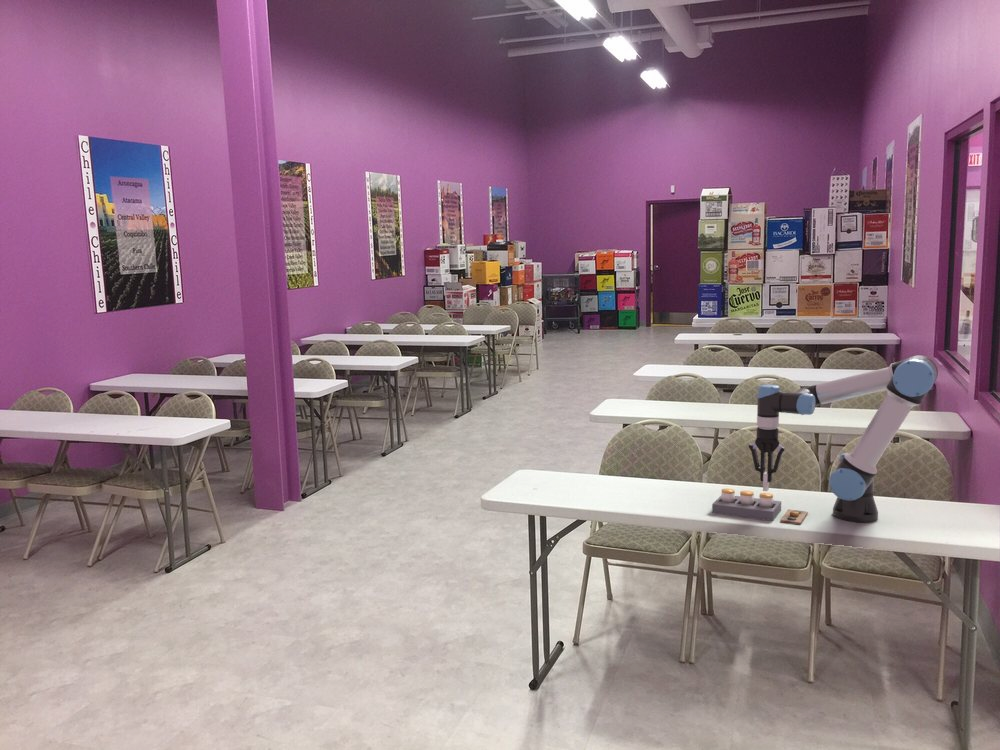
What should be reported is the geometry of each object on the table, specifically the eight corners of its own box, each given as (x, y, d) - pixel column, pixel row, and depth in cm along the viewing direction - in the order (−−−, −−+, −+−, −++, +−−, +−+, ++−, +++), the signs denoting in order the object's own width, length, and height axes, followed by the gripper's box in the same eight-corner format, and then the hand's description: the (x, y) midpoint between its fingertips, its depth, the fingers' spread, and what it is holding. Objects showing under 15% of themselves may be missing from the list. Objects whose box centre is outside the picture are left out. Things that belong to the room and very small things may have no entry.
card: (807, 513, 300) (807, 508, 300) (800, 524, 288) (800, 519, 288) (788, 511, 304) (788, 506, 303) (780, 522, 292) (780, 516, 291)
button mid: (754, 503, 305) (755, 491, 304) (751, 506, 301) (752, 494, 300) (741, 501, 307) (742, 490, 307) (738, 504, 303) (738, 493, 302)
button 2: (774, 505, 301) (774, 493, 301) (771, 508, 297) (771, 497, 297) (760, 503, 304) (761, 492, 303) (757, 507, 300) (758, 495, 299)
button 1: (736, 500, 308) (736, 489, 308) (732, 504, 304) (732, 492, 304) (723, 499, 311) (723, 487, 310) (719, 502, 307) (720, 491, 306)
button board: (781, 510, 305) (781, 501, 304) (773, 521, 293) (773, 511, 292) (722, 503, 316) (722, 494, 315) (712, 513, 304) (712, 503, 303)
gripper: (788, 426, 296) (786, 489, 300) (751, 423, 303) (750, 485, 306) (784, 430, 290) (781, 495, 293) (746, 427, 296) (745, 490, 300)
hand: (765, 490), depth 300 cm, fingers closed
